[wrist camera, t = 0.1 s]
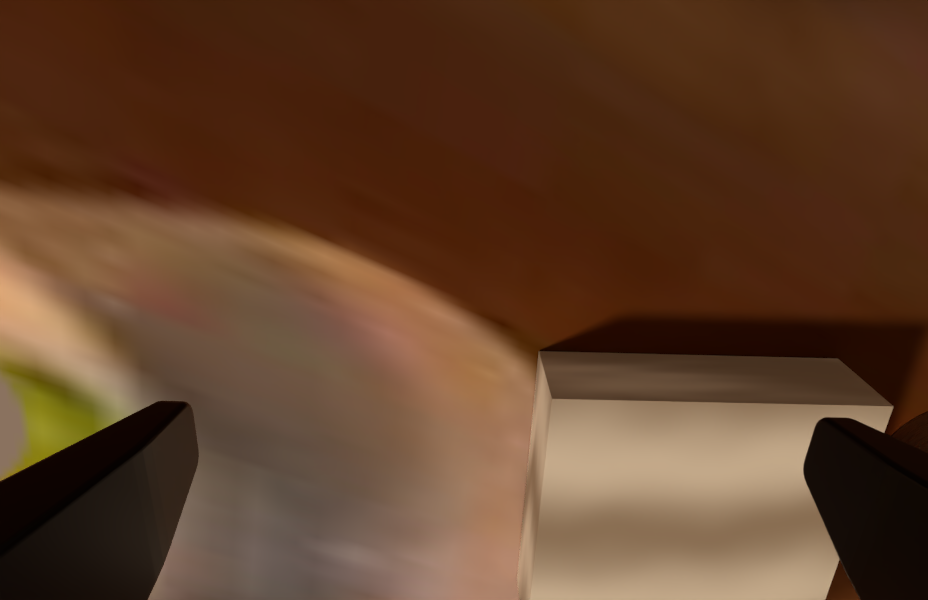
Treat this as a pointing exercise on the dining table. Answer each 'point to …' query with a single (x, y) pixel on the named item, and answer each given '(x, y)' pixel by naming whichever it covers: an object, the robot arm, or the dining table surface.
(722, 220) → the dining table surface
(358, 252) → the dining table surface
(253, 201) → the dining table surface
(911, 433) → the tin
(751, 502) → the base block
